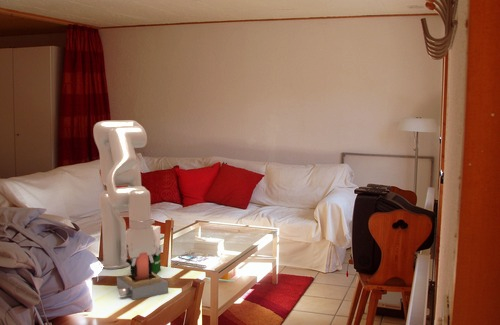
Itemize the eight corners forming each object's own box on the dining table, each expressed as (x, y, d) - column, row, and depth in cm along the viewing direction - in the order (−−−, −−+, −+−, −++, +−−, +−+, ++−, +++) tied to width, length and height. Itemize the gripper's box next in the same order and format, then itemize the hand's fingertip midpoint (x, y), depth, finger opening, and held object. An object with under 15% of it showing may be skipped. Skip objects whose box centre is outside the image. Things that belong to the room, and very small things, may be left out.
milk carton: (142, 268, 223) (141, 219, 221) (163, 269, 221) (162, 220, 219) (134, 274, 214) (132, 224, 212) (155, 275, 213) (154, 225, 211)
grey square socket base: (109, 289, 197) (108, 275, 197) (150, 281, 206) (150, 268, 205) (124, 301, 184) (123, 287, 183) (168, 292, 192) (167, 279, 192)
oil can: (132, 278, 196) (131, 243, 195) (146, 276, 199) (144, 241, 198) (137, 282, 192) (136, 246, 191) (151, 280, 195) (150, 244, 193)
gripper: (158, 219, 201) (159, 268, 203) (113, 225, 192) (115, 276, 194) (166, 223, 195) (168, 273, 197) (120, 229, 186) (122, 281, 188)
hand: (141, 274), depth 195 cm, fingers closed on oil can, 5 cm apart
